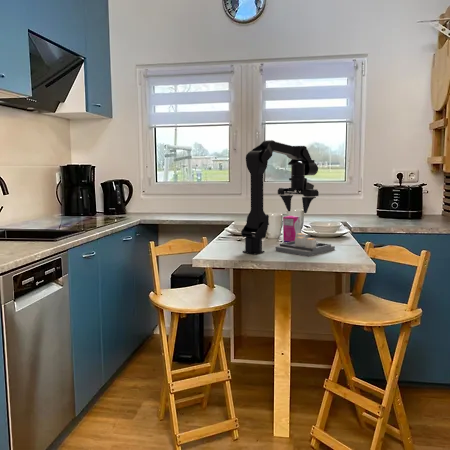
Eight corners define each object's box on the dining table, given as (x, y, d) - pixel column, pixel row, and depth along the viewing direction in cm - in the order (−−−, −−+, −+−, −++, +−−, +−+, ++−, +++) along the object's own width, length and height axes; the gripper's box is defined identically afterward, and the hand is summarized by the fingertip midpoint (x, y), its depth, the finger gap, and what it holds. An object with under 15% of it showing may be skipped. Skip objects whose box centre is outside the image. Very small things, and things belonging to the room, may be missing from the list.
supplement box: (289, 240, 209) (289, 215, 207) (300, 241, 205) (301, 216, 204) (282, 241, 204) (282, 216, 203) (294, 243, 201) (294, 217, 199)
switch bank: (308, 256, 173) (308, 249, 173) (275, 250, 185) (275, 244, 184) (334, 249, 186) (334, 243, 185) (302, 244, 197) (302, 239, 197)
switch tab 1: (301, 244, 189) (301, 234, 188) (295, 243, 191) (295, 233, 190) (305, 243, 191) (305, 233, 190) (299, 242, 193) (299, 233, 192)
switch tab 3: (311, 250, 177) (311, 239, 176) (305, 249, 179) (305, 238, 178) (316, 249, 179) (316, 238, 178) (309, 248, 181) (309, 237, 180)
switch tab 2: (301, 248, 180) (301, 238, 180) (294, 247, 182) (295, 237, 182) (305, 247, 182) (305, 237, 182) (299, 246, 185) (299, 236, 184)
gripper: (327, 175, 193) (326, 212, 195) (294, 175, 207) (293, 209, 209) (310, 176, 186) (309, 214, 188) (277, 175, 200) (276, 210, 202)
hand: (297, 212), depth 197 cm, fingers open, 9 cm apart
